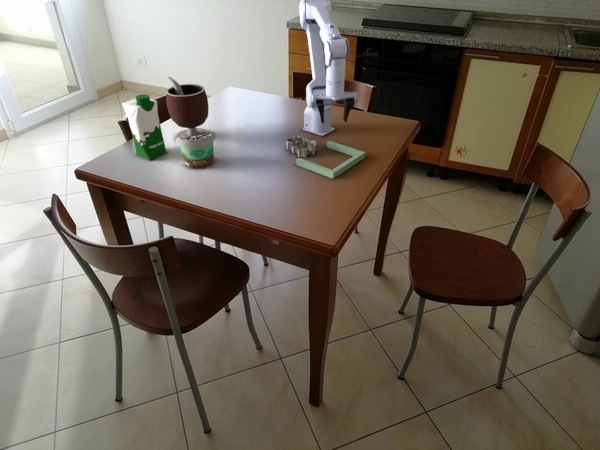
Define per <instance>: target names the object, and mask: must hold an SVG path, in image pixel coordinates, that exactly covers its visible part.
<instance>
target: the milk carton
mask: <svg viewBox="0 0 600 450" xmlns="http://www.w3.org/2000/svg"><path fill="white" fill-rule="evenodd" d="M121 104H122V107H123V109H124V112H125V114H126V116H127V120H128V124H129V127H130V131H131V135H132V139H133V144H134V148H135V154H136V156H138V157H140V158H143V159H145V160H147V161H152V160H154V159H156V158H159V157H161V156H163V155H165V154H167V149H166V144H165V140H164V136H163V132H162V127H161V122H160V118H159V112H158V111H159V110H158V100H156V99H152V98H150V95H149V94H139V95H136V96H135V98H134V99H131V100H128V101H124V102H122V103H121Z"/></svg>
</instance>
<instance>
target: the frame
mask: <svg viewBox="0 0 600 450" xmlns="http://www.w3.org/2000/svg"><path fill="white" fill-rule="evenodd" d="M326 148H327V149H330V150H333V151H336V152H339V153H342V154H345V155H347V156H348V155H349V156H351V157H350V158H349V159H347V160H345V161H343V162H342V163H340V164H339V165H338V166H337V165H336V166H335V167H334V168H333V169H331V168H328V167H325V166H323V165H320V164H317V163H314V162H312V161H309V160H306V159H304V158H302V157H298V158H296V160H295V165H296V166H297V167H300V168H303V169H306V170H308V171H310V172H313V173H316V174H318V175H322V176H324V177H328V178H329V179H333V180H334V179H335V178H337V177H338V176H340V175H342V174H343V173H344V172H346V171H347V170H349V169H351V168H352V167H354V166H355V165H356V164H358V163H359V162H360V161H362V160H364V159H365V158H366V152H365V151H363V150H359V149H357V148H353V147H350V146H347V145H344V144H340V143H337V142H334V141H333V140H332V141H331V140H327V142H326Z"/></svg>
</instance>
